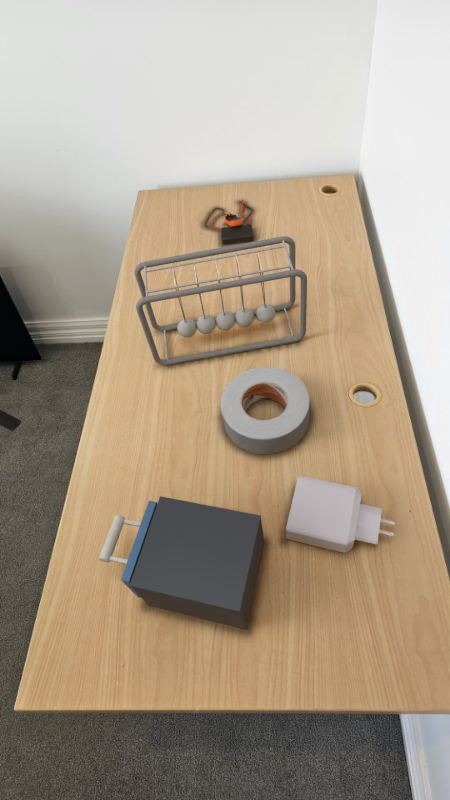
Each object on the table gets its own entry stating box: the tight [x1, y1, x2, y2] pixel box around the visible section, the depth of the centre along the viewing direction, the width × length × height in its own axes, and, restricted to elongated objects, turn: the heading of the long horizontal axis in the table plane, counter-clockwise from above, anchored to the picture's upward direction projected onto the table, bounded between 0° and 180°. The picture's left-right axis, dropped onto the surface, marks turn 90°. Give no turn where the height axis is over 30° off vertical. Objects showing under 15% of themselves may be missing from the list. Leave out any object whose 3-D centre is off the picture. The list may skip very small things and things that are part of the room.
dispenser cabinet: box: [130, 496, 266, 631], centre depth 70 cm, size 15×13×11 cm
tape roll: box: [219, 366, 311, 455], centre depth 87 cm, size 15×15×5 cm
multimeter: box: [204, 197, 254, 245], centre depth 122 cm, size 18×12×3 cm, turn 178°
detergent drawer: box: [98, 500, 158, 599], centre depth 71 cm, size 18×11×9 cm, turn 76°
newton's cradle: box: [134, 235, 308, 366], centre depth 94 cm, size 30×10×18 cm, turn 98°
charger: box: [285, 474, 396, 554], centre depth 74 cm, size 5×9×15 cm
